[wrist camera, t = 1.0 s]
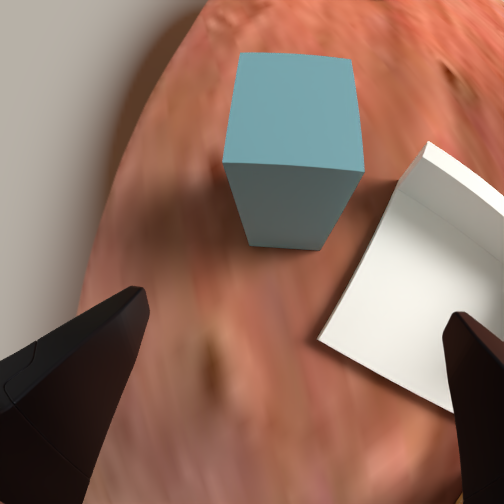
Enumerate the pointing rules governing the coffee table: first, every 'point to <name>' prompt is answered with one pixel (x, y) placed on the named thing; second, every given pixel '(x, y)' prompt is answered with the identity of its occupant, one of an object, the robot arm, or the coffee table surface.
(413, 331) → the shelf
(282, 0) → the coffee table surface
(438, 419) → the coffee table surface
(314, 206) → the teal rectangular block
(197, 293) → the coffee table surface
